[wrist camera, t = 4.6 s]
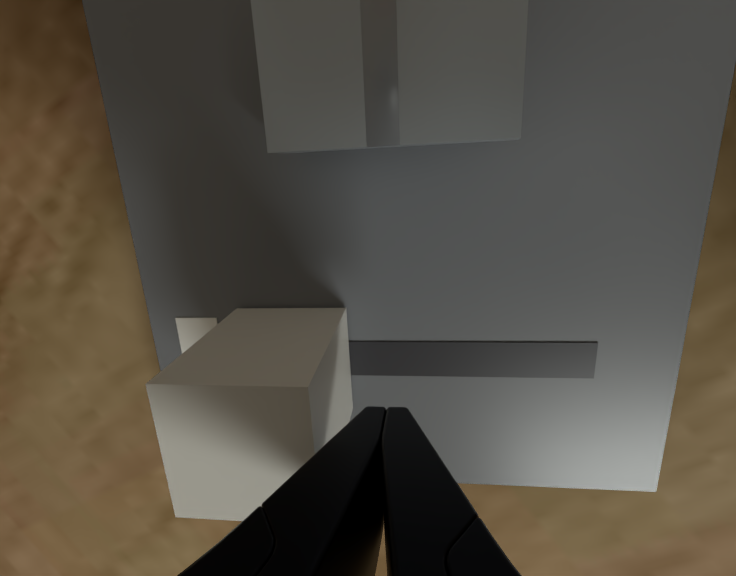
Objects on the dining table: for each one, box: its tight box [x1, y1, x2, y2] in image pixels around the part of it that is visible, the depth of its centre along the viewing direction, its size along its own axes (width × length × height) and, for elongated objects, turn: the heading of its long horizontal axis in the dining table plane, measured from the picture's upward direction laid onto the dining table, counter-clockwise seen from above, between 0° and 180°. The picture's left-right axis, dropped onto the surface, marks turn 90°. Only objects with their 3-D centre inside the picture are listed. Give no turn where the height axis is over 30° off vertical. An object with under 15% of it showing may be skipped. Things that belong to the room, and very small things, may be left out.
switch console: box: [82, 0, 736, 492], centre depth 10 cm, size 14×22×3 cm, turn 3°
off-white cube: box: [146, 308, 353, 521], centre depth 10 cm, size 3×3×4 cm
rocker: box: [251, 0, 528, 153], centre depth 8 cm, size 5×3×1 cm, turn 93°
